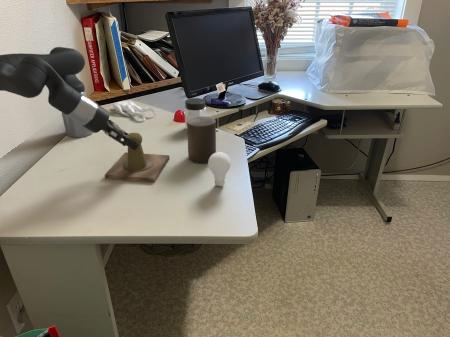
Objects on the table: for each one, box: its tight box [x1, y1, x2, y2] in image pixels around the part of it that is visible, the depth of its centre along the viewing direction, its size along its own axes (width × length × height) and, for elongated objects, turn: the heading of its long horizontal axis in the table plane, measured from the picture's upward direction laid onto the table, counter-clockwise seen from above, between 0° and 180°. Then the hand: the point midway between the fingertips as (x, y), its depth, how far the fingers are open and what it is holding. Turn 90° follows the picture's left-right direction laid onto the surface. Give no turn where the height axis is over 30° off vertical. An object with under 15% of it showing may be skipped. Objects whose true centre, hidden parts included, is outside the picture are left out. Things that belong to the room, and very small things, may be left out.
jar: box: [184, 97, 207, 130], centre depth 141 cm, size 9×8×12 cm
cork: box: [126, 132, 147, 170], centre depth 108 cm, size 6×6×11 cm
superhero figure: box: [112, 100, 157, 122], centre depth 159 cm, size 12×6×25 cm
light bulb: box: [207, 151, 232, 187], centre depth 101 cm, size 7×7×11 cm
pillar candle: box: [186, 116, 217, 165], centre depth 117 cm, size 10×10×15 cm
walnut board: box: [104, 151, 170, 183], centre depth 113 cm, size 16×16×2 cm
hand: (132, 142), depth 107 cm, fingers open, 8 cm apart
